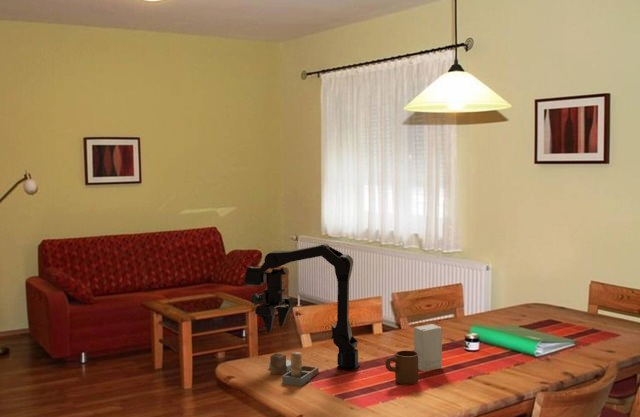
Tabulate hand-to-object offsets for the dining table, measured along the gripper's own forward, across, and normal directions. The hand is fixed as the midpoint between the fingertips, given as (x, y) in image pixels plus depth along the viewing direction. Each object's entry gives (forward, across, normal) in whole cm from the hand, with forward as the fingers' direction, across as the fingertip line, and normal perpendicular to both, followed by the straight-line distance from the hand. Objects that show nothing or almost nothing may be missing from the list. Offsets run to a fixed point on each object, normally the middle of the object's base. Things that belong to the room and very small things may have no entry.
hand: (275, 329), depth 247 cm
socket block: (+12, +7, +16) cm, 21 cm away
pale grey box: (+13, +4, +5) cm, 14 cm away
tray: (+12, +15, +16) cm, 25 cm away
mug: (+13, +2, +48) cm, 50 cm away
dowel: (+12, +15, +16) cm, 25 cm away
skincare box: (+13, -16, +52) cm, 56 cm away
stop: (+12, +9, +6) cm, 17 cm away
